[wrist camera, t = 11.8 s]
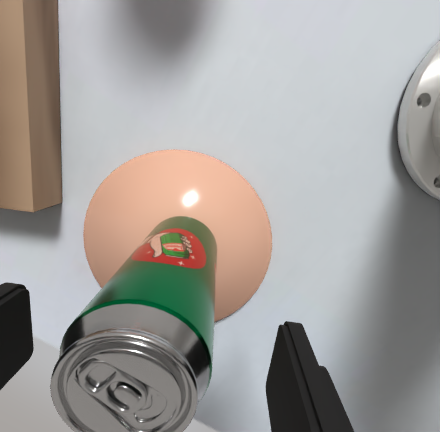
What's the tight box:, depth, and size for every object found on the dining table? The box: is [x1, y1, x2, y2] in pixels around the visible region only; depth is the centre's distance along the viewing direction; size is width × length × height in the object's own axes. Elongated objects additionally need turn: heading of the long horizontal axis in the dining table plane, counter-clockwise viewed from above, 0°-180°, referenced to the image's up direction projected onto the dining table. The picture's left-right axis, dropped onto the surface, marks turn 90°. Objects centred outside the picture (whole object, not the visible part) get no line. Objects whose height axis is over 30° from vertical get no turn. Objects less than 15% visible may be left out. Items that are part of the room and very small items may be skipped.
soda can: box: [50, 216, 217, 432], centre depth 13 cm, size 5×5×12 cm
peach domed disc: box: [83, 150, 272, 322], centre depth 19 cm, size 14×14×1 cm
